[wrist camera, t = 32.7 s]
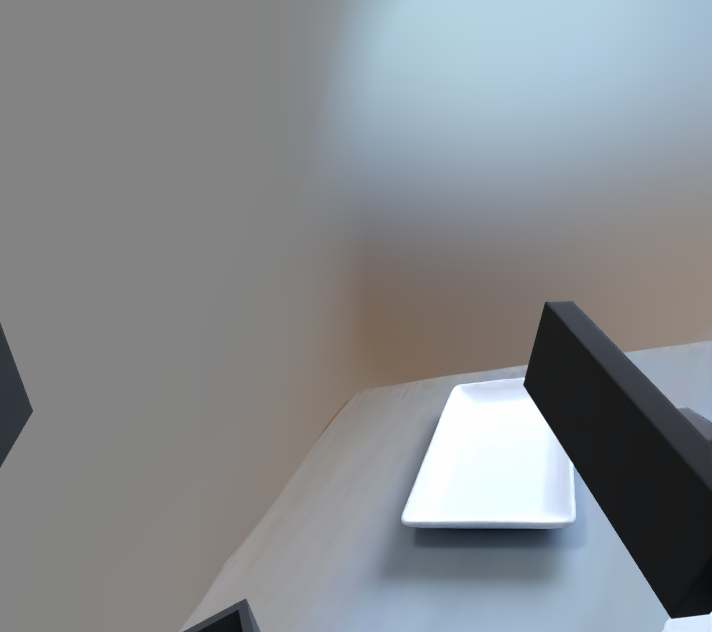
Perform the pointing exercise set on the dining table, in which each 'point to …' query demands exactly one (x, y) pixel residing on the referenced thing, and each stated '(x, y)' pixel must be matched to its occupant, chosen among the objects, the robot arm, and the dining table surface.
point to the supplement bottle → (689, 624)
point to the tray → (493, 465)
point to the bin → (229, 620)
